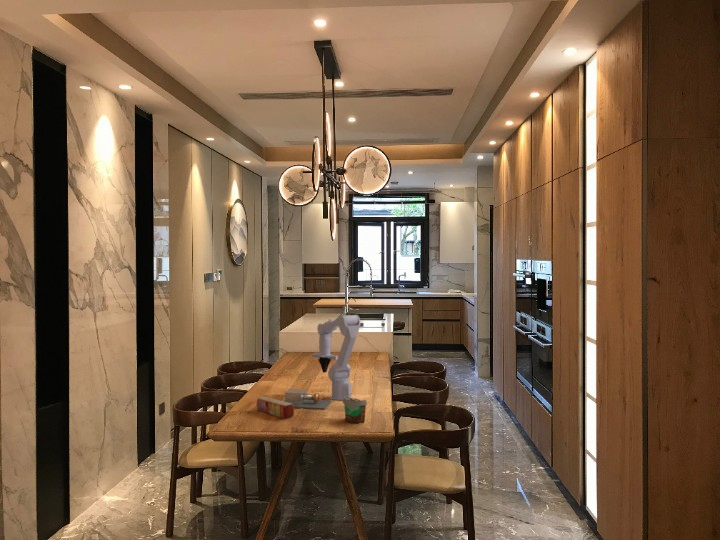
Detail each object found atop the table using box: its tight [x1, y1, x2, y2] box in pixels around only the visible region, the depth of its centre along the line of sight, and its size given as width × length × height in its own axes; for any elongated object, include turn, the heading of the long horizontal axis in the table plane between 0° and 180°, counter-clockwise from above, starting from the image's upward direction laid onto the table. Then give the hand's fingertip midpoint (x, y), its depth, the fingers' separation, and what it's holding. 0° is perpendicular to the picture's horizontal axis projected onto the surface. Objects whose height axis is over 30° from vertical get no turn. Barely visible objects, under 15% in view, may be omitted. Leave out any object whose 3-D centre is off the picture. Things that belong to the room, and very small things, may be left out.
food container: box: [342, 395, 368, 425], centre depth 239 cm, size 12×6×10 cm, turn 45°
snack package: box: [256, 396, 295, 420], centre depth 251 cm, size 21×7×7 cm, turn 45°
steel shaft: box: [303, 392, 320, 403], centre depth 266 cm, size 16×4×4 cm, turn 80°
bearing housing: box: [284, 388, 307, 405], centre depth 267 cm, size 8×8×6 cm
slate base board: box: [283, 399, 333, 411], centre depth 266 cm, size 22×14×1 cm, turn 80°
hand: (324, 372), depth 291 cm, fingers closed
